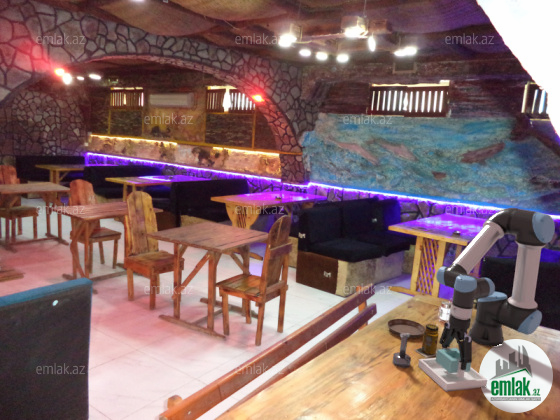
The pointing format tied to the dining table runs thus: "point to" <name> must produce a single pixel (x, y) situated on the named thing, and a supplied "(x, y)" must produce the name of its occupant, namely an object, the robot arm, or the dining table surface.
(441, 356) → the collar
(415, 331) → the plant saucer
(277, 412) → the dining table surface
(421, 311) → the dining table surface
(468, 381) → the tray
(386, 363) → the dining table surface
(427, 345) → the condiment
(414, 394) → the dining table surface
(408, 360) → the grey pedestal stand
